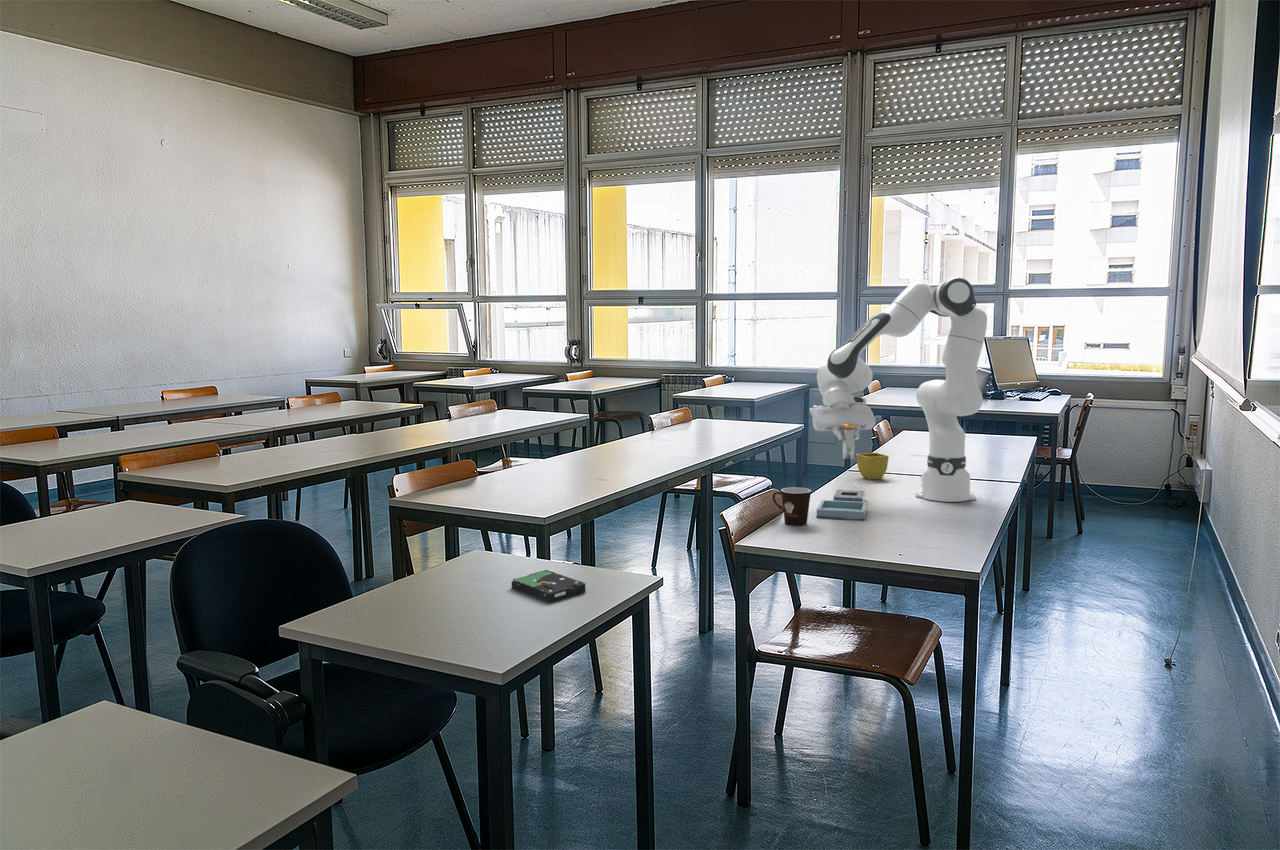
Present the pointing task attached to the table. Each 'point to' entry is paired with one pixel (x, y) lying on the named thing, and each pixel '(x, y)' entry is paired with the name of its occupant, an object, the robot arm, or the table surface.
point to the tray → (842, 509)
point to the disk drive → (548, 586)
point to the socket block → (849, 495)
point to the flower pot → (872, 465)
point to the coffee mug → (794, 505)
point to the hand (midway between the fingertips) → (849, 438)
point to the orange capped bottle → (848, 441)
